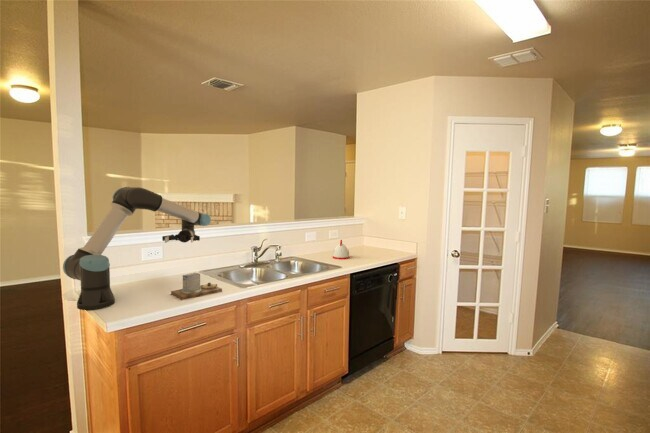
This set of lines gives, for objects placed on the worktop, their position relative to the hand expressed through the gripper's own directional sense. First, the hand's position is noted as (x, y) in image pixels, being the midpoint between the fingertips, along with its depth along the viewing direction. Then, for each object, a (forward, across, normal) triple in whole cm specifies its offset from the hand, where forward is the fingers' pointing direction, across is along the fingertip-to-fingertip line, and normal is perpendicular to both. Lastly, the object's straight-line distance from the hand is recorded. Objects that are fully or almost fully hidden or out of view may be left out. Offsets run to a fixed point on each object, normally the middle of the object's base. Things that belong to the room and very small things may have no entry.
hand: (178, 240), depth 194 cm
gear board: (+10, -11, -27) cm, 31 cm away
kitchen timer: (-71, -113, -25) cm, 136 cm away
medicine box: (+12, -9, -26) cm, 29 cm away
